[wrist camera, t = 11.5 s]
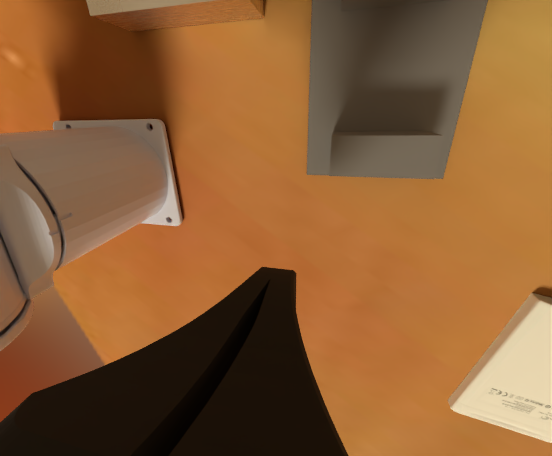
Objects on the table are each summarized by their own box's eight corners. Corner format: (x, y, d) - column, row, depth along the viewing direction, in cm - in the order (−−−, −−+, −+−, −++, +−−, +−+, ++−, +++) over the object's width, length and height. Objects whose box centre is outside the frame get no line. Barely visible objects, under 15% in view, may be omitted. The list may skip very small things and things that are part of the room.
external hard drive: (664, 321, 17) (544, 425, 22) (525, 286, 18) (444, 393, 23) (694, 341, 15) (558, 447, 21) (541, 302, 16) (451, 412, 22)
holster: (307, 172, 17) (300, 186, 14) (314, -50, 13) (306, -102, 10) (439, 176, 15) (464, 193, 12) (503, -79, 11) (567, -154, 8)
